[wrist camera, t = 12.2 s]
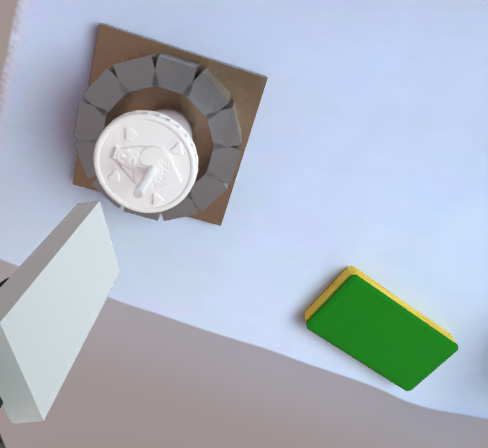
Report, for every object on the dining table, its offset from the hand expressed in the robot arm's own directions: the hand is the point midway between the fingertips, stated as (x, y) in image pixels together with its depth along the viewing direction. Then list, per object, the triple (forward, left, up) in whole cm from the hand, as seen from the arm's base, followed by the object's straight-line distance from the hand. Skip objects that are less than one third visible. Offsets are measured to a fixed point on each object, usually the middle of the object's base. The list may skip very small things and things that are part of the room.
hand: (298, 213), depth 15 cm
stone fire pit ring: (+5, -7, -24) cm, 25 cm away
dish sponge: (+17, +17, -24) cm, 35 cm away
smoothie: (+4, -7, -23) cm, 24 cm away
